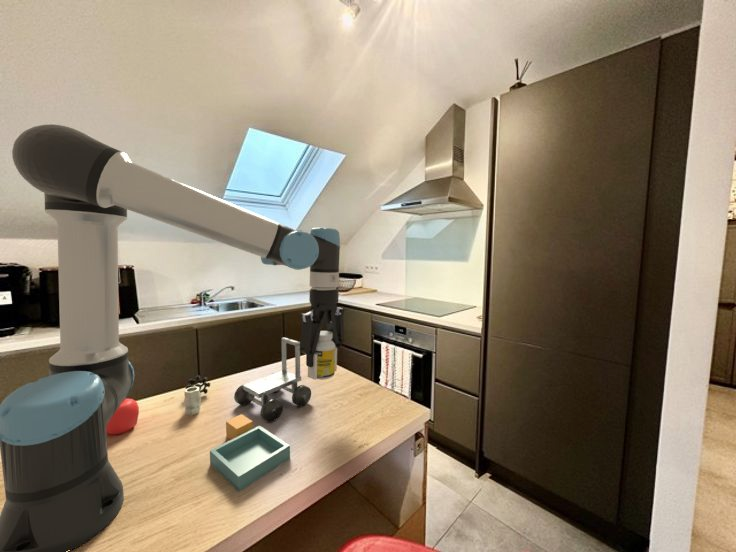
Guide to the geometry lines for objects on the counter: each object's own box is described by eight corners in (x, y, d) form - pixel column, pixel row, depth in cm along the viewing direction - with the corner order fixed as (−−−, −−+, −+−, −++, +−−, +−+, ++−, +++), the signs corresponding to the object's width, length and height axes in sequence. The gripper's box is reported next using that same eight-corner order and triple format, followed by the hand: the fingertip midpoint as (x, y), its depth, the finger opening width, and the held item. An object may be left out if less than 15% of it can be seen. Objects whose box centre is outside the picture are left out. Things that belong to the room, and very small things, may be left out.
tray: (239, 491, 57) (238, 476, 56) (210, 464, 64) (209, 450, 63) (290, 458, 66) (289, 445, 65) (259, 437, 73) (259, 425, 73)
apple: (132, 417, 81) (130, 388, 80) (147, 426, 77) (145, 396, 76) (94, 432, 74) (91, 401, 73) (107, 443, 70) (105, 410, 69)
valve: (205, 413, 83) (210, 394, 94) (204, 390, 82) (210, 373, 94) (177, 418, 81) (186, 397, 92) (176, 394, 80) (185, 376, 91)
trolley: (264, 426, 77) (263, 358, 76) (234, 406, 87) (232, 346, 85) (311, 402, 90) (310, 343, 88) (280, 387, 99) (279, 334, 97)
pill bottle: (305, 378, 79) (306, 334, 78) (317, 369, 85) (317, 328, 84) (328, 382, 77) (329, 337, 76) (338, 372, 83) (339, 331, 82)
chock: (237, 445, 70) (236, 428, 70) (226, 437, 73) (225, 421, 73) (253, 436, 73) (252, 421, 73) (242, 429, 76) (241, 414, 76)
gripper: (304, 292, 69) (303, 390, 71) (359, 286, 84) (356, 367, 86) (284, 289, 74) (283, 381, 76) (339, 284, 89) (337, 360, 91)
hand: (322, 373), depth 81 cm, fingers closed on pill bottle, 6 cm apart
